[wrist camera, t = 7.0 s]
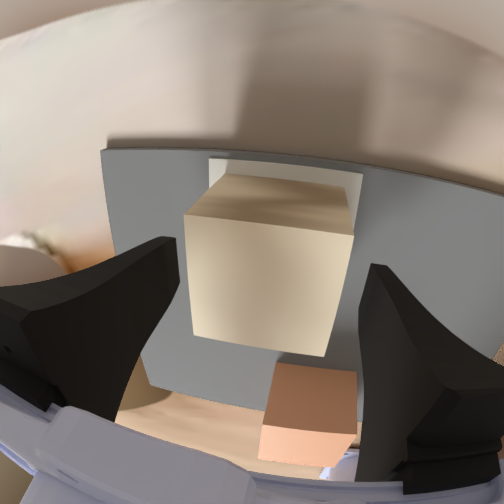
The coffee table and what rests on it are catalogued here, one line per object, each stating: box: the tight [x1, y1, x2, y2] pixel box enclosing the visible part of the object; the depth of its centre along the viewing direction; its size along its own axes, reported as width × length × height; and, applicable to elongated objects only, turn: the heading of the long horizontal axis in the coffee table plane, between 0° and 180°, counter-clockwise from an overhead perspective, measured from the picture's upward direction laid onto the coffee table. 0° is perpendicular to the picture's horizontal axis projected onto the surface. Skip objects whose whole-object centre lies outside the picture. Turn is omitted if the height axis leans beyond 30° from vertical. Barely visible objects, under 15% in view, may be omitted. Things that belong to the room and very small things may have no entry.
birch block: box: [184, 174, 354, 357], centre depth 12 cm, size 5×5×4 cm
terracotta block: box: [258, 362, 357, 468], centre depth 17 cm, size 5×5×4 cm
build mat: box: [100, 148, 504, 422], centre depth 17 cm, size 24×18×1 cm
